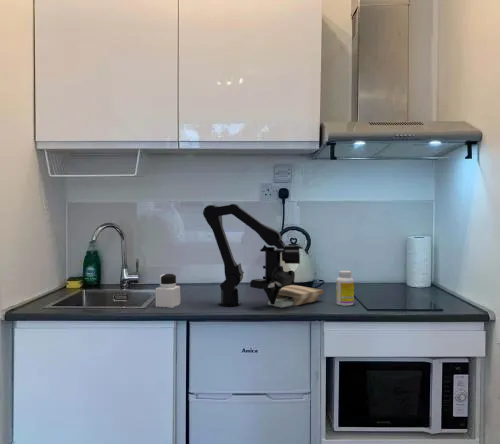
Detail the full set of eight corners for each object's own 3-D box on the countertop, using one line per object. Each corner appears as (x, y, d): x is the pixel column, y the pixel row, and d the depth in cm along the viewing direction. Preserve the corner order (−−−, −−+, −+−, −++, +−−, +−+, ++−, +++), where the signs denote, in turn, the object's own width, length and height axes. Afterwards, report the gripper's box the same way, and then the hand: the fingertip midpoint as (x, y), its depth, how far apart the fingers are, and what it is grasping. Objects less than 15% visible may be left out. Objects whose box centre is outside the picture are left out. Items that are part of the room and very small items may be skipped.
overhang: (300, 306, 183) (300, 294, 183) (270, 300, 195) (270, 288, 194) (323, 301, 192) (323, 289, 192) (292, 295, 204) (293, 284, 204)
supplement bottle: (357, 305, 186) (357, 271, 185) (344, 306, 182) (344, 273, 182) (345, 301, 192) (346, 269, 191) (332, 303, 188) (332, 270, 188)
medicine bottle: (180, 304, 187) (180, 273, 187) (172, 308, 180) (172, 276, 180) (163, 303, 189) (163, 272, 189) (155, 306, 182) (155, 275, 182)
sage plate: (281, 308, 182) (281, 303, 181) (268, 305, 187) (268, 300, 187) (305, 302, 191) (305, 298, 191) (292, 300, 196) (292, 295, 196)
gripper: (270, 267, 171) (270, 311, 172) (305, 263, 184) (304, 303, 184) (249, 264, 179) (249, 306, 180) (283, 260, 192) (283, 299, 193)
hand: (272, 304), depth 184 cm, fingers closed
